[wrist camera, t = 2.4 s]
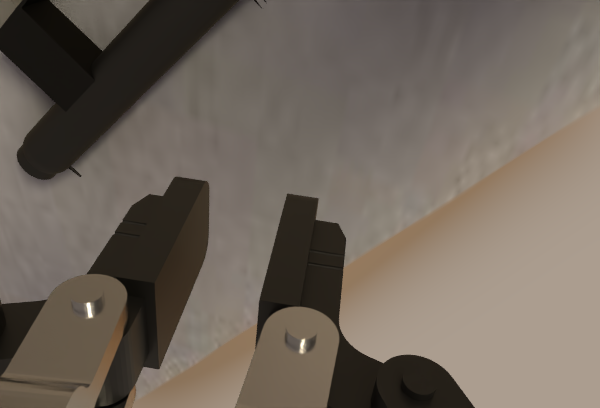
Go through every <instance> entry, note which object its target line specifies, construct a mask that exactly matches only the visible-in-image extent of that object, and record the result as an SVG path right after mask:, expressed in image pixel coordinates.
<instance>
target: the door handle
mask: <svg viewBox="0 0 600 408" xmlns="http://www.w3.org/2000/svg"><path fill="white" fill-rule="evenodd" d="M238 1H239V0H149V1H148V3H147V4H146V5H145V6H144V7H143V8H142V9H141V10H140V11H139V12H138V13H137V15H136V16H135V17H134V18H133V19H132V20H131V21H130V22H129V23H128V24H127V25H126V27H125V28H124V29H123V30H122V31H121V32H120V33H119V34H118V35H117V36H116V38H115V39H114V40H113V41H112V42H111V43H110V44H109V45H108V46H107V47H106V48H105V50H104V51H102V50H100V49H99V48H98V47H97V46H96V45H95V44H94V43H93V42H92V41H91V40H90V39H89V38H88V37H87V36H86V35H85V34H84V33H83V32H82V31H81V30H79V29H78V28H77V27H76V26H75V25H74V24H73V23H72V22H71V21H70V20H69V19H68V18H67V17H66V16H65V15H64V14H63V13H62V12H61V11H60V10H59V9H57V8H56V7H55V6H54V5H53V4H52V3H51V2H50V1H49V0H0V27H1V28H0V50H1V51H2V52H3V53H4V54H5V55H6V56H7V57H8V58H9V59H10V60H11V61H12V62H13V63H14V64H15V65H16V66H18V67H19V68H20V69H21V70H22V71H23V72H24V73H25V74H26V75H27V76H28V77H29V78H30V79H31V80H32V81H33V82H34V83H36V84H37V85H38V86H39V87H40V88H41V89H42V90H43V91H44V92H45V93H46V94H47V95H48V96H49V97H50V98H51V99H52V100H54V101H55V102H56V103H55V104H54V105H53V107H52V108H51V109H50V110H49V111H48V112H47V113H46V114H45V115H44V116H43V117H42V119H41V120H40V121H39V122H38V123H37V124H36V125H35V126H34V127H33V128H32V130H31V131H30V132H29V133H28V134H27V135H26V137H25V139H24V142H23V145H22V146H21V147H20V148H19V150H18V152H17V159H18V162H19V164H20V166H21V167H22V168H23V169H24V170H25V171H26V172H27V173H28V174H30V175H31V176H33V177H35V178H38V179H43V180H47V179H51V178H53V177H54V176H55V175H56V174H57V173H60V172H63V171H65V170H66V169H68V168H69V169H71V170H72V171H73V172H74V173H76V174H77V175H78V176H79V177H81V175H80V174H79V173H78V172H77V171H76V170H75V169H74V168H73V167H71V165H72V164H73V163H74V162H75V161H76V160H77V159H78V158H79V157H80V156H81V155H82V154H83V153H84V152H85V151H86V150H87V149H88V148H89V147H90V146H91V145H92V144H93V143H94V142H96V141H97V140H98V139H99V138H100V137H101V136H102V135H103V134H104V133H105V132H106V131H107V130H108V129H109V128H110V127H111V126H112V125H113V124H114V123H115V122H116V121H117V120H118V119H119V118H120V117H121V116H122V115H123V114H124V113H125V112H126V111H127V110H128V109H129V108H130V107H131V106H132V105H133V104H134V103H135V102H136V101H137V100H138V99H139V98H140V97H141V96H142V95H143V94H144V93H145V92H146V91H147V90H148V89H149V88H150V87H151V86H152V85H153V84H154V83H155V82H156V81H157V80H158V79H160V78H161V77H162V76H163V75H164V74H165V73H166V72H167V71H168V70H169V69H170V68H171V67H172V66H173V65H174V64H175V63H176V62H177V61H178V60H179V59H180V58H181V57H182V56H183V55H184V54H185V53H186V52H187V51H188V50H189V49H190V48H191V47H192V46H193V45H194V44H195V43H196V42H197V41H198V40H199V39H200V38H201V37H202V36H203V35H204V34H205V33H206V32H207V31H208V30H209V29H210V28H211V27H212V26H213V25H214V24H215V23H216V22H217V21H218V20H219V19H220V18H221V17H223V16H224V15H225V14H226V13H227V12H228V11H229V10H230V9H231V8H232V7H233V6H234V5H235V4H236V3H237V2H238ZM254 1H255V2H256V3H257V4H258V5H259V3H258V2H257V1H256V0H254ZM264 1H265V0H264ZM265 2H266V1H265ZM259 6H260V5H259ZM260 7H261V6H260ZM261 8H262V7H261Z"/></svg>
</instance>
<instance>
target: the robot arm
mask: <svg viewBox="0 0 600 408" xmlns="http://www.w3.org/2000/svg"><path fill="white" fill-rule="evenodd" d="M318 199H319V198H312V197H306V196H299V195H293V194H287V197H286V200H285V204H284V208H283V212H282V216H281V220H280V223H279V227H278V231H277V235H276V239H275V243H274V246H273V250H272V254H271V258H270V262H269V265H268V269H267V273H266V277H265V281H264V285H263V288H262V292H261V296H260V300H259V311H258V323H257V335H256V347H255V352H254V355H253V358H252V361H251V364H250V367H249V369H248V372H247V375H246V378H245V381H244V384H243V386H242V389H241V392H240V395H239V398H238V401H237V404H236V406H235V408H475V407H474V406H473V405H472V403H471V402H470V401H469V399H468V398H467V397H466V395H465V394H464V393H463V391H462V390H461V389H460V387H459V386H458V385H457V383H456V382H455V381H454V379H453V378H452V377H451V375H450V374H449V373H448V372H447V371H446V370H445V369H444V368H442V367H441V366H440V365H438V364H437V363H435V362H433V361H432V360H430V359H427V358H424V357H421V356H416V355H400V356H396V357H393V358H391V359H389V360H387V361H386V362H385V363H382V362H379V361H377V360H375V359H373V358H370V357H368V356H366V355H364V354H362V353H361V352H359V351H358V350H356V349H355V348H354V347H353V346H351V345H350V344H349V342H348V341H347V340H346V339H345V337H344V336H343V334H342V332H341V330H340V326H339V311H340V310H339V309H340V300H341V289H342V278H343V267H344V256H345V245H346V238H345V236H344V234H343V232H342V230H341V228H340V226H339V224H338V223H331V222H325V221H318V220H316V214H317V207H318ZM208 237H209V183H208V182H207V181H202V180H195V179H189V178H182V177H175V178H174V179H173V180H172V182H171V184H170V185H169V187H168V189H167V191H166V192H165V194H164V196H157V195H151V194H149V195H148V196H146V197H145V198H143V199H141V200H140V201H138V202H137V203H135V204H134V205H132V207H131V208H130V210H129V211H128V213H127V214H126V216H125V217H124V219H123V222H122V223H120V225H119V226H118V228H117V229H116V231H115V234H114V235H112V237H111V238H110V240H109V241H108V243H107V244H106V246H105V247H104V249H103V250H102V252H101V253H100V255H99V256H98V258H97V260H96V261H95V263H94V264H93V266H92V267H91V269H90V270H89V272H88V273H87V275H81V276H77V277H74V278H71V279H69V280H67V281H65V282H63V283H62V284H60V285H59V286H58V287H56V288H55V289H54V290H53V292H52V293H51V294H50V296H49V297H48V299H47V300H42V301H34V302H22V303H9V304H1V300H0V408H132V406H133V403H134V400H135V396H136V386H135V384H136V382H137V379H138V377H139V375H140V373H141V370H142V368H143V367H148V368H154V369H160V366H161V364H162V361H163V359H164V356H165V354H166V352H167V349H168V347H169V344H170V342H171V339H172V337H173V335H174V332H175V330H176V327H177V325H178V322H179V320H180V318H181V315H182V313H183V310H184V308H185V305H186V303H187V301H188V298H189V296H190V293H191V291H192V289H193V286H194V284H195V281H196V279H197V276H198V274H199V272H200V269H201V267H202V264H203V262H204V259H205V255H206V251H207V246H208Z"/></svg>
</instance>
